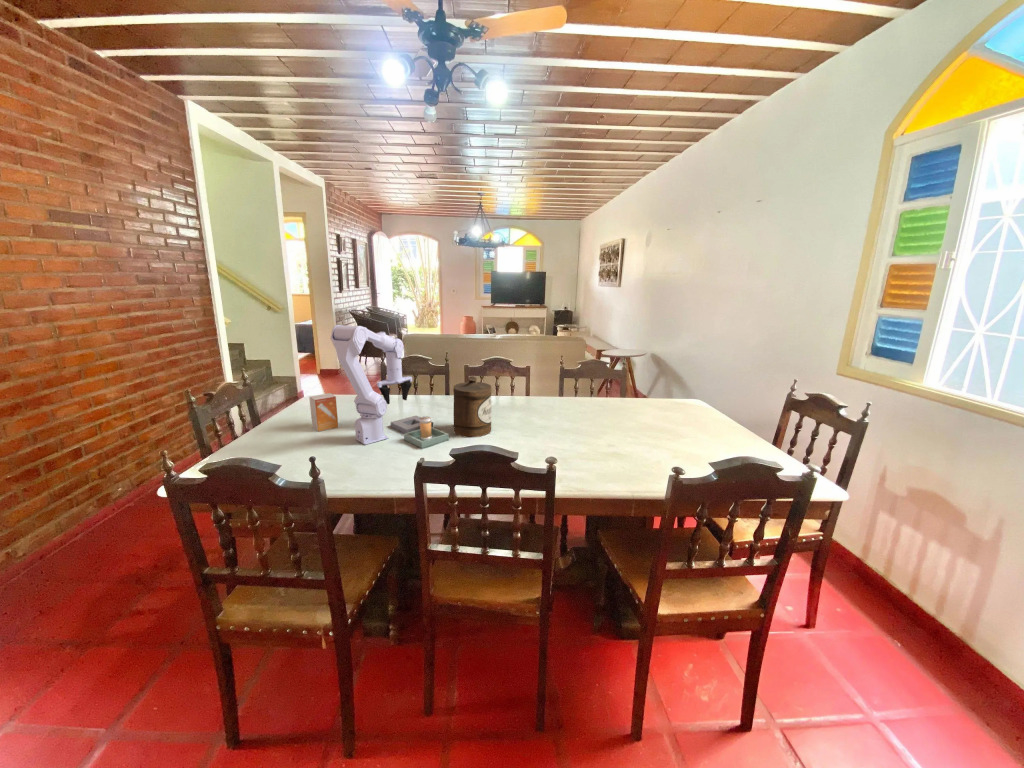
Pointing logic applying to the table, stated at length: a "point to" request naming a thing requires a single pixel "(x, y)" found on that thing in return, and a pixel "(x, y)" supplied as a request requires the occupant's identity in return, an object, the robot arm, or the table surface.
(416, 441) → the tray
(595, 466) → the table surface
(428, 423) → the fuse
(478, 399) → the wooden container
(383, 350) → the robot arm
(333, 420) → the small box
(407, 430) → the grey square frame
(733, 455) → the table surface
